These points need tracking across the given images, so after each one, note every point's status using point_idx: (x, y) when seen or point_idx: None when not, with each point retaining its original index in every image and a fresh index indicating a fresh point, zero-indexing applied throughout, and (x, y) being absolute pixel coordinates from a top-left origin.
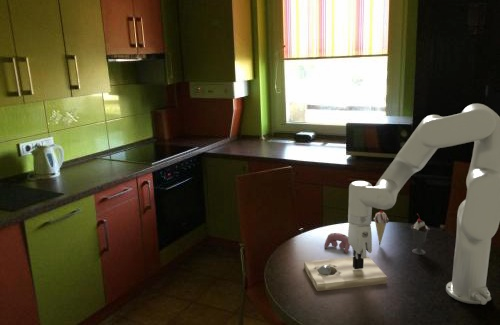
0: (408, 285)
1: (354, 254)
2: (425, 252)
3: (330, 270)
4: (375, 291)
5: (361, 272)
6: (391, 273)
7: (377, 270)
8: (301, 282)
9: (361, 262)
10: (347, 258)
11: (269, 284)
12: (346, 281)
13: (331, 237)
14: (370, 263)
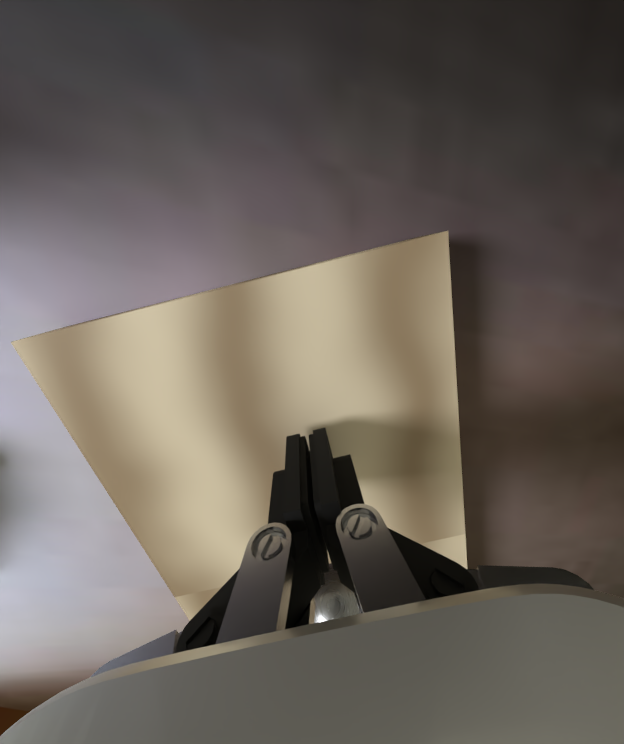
0: (476, 16)
1: (313, 609)
2: None
3: (358, 607)
4: (508, 340)
5: (361, 432)
6: (251, 144)
7: (328, 300)
8: None
9: (359, 489)
10: (135, 501)
11: None
12: (462, 521)
13: None
14: (192, 340)
